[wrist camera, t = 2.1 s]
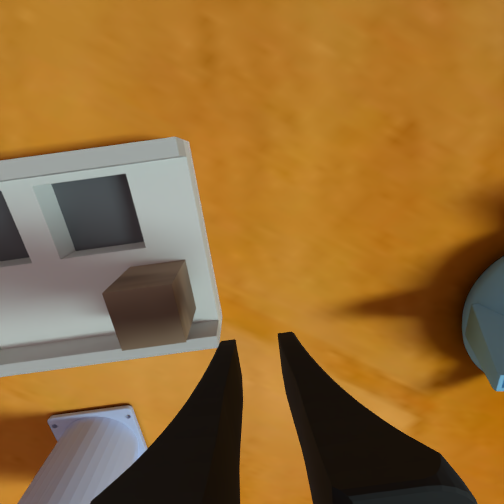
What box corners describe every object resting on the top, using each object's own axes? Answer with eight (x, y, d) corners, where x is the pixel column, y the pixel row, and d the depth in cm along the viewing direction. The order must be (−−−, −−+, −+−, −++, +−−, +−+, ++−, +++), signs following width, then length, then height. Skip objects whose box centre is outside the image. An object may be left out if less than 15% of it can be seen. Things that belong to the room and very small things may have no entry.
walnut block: (196, 308, 20) (186, 342, 16) (144, 315, 20) (121, 350, 16) (185, 259, 19) (171, 284, 15) (129, 267, 19) (101, 293, 15)
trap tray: (222, 316, 23) (218, 347, 19) (-32, 350, 23) (-85, 388, 19) (188, 141, 18) (175, 136, 15) (-128, 185, 18) (-223, 191, 15)
